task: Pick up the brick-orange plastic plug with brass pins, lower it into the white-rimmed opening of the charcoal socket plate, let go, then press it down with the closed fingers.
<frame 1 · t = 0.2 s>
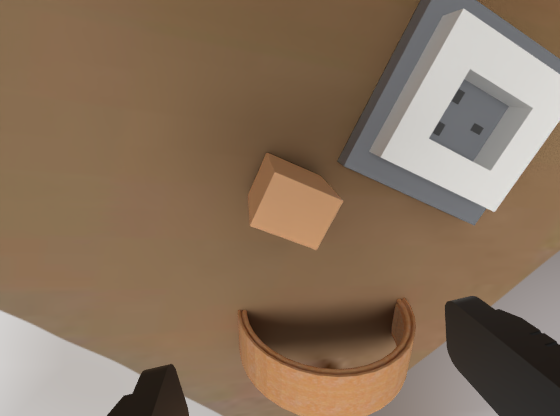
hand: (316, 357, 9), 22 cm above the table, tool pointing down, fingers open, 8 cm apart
socket plate: (447, 118, 30), on the table
plug: (283, 182, 30), on the table
arch: (321, 320, 38), on the table
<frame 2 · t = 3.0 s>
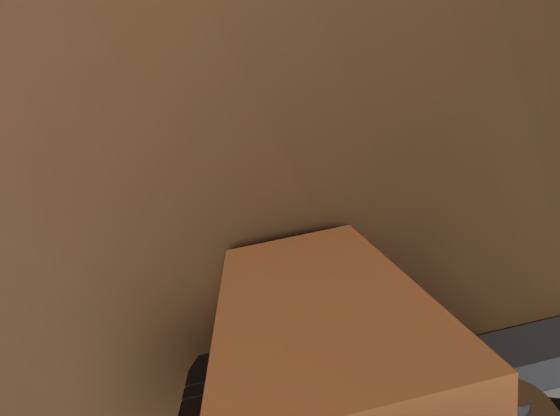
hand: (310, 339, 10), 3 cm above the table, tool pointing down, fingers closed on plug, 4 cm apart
plug: (296, 293, 12), on the table, touching gripper
when the fingers open (6 cm above the table, at t = 7.7 s): plug stays where it is, resting on socket plate.
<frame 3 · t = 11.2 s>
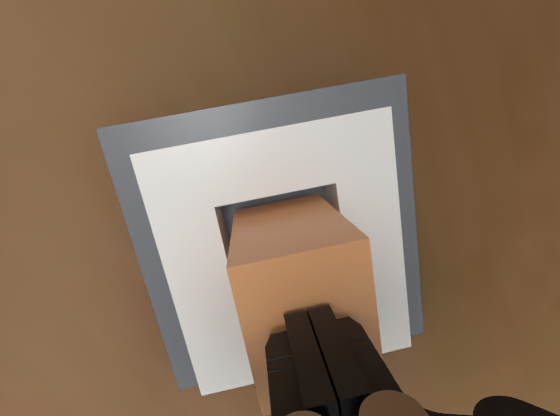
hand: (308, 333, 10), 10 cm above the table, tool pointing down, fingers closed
socket plate: (279, 234, 20), on the table
plug: (283, 245, 18), point 2 cm above the table, touching gripper, socket plate
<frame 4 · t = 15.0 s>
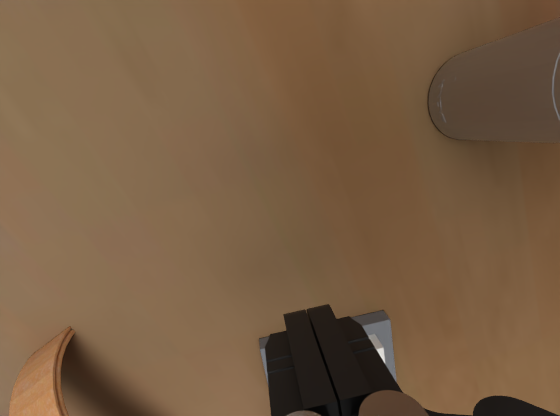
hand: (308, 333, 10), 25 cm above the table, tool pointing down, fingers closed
socket plate: (330, 376, 41), on the table
arch: (115, 391, 38), on the table
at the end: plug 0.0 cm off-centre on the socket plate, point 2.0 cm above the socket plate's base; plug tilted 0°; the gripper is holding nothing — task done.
